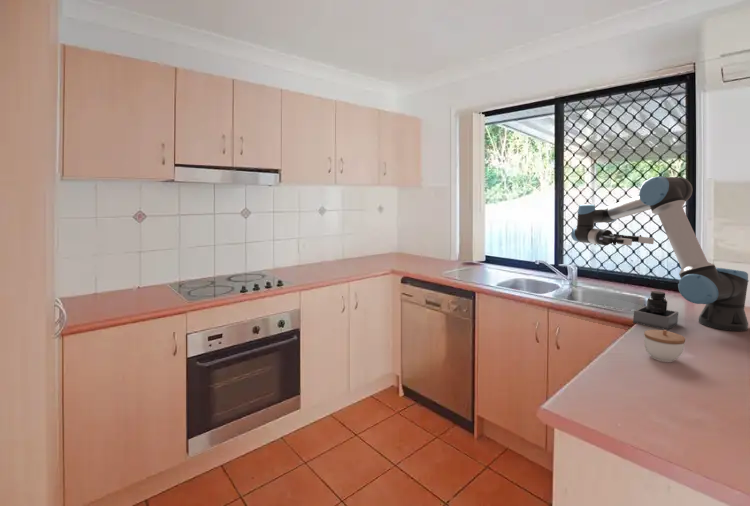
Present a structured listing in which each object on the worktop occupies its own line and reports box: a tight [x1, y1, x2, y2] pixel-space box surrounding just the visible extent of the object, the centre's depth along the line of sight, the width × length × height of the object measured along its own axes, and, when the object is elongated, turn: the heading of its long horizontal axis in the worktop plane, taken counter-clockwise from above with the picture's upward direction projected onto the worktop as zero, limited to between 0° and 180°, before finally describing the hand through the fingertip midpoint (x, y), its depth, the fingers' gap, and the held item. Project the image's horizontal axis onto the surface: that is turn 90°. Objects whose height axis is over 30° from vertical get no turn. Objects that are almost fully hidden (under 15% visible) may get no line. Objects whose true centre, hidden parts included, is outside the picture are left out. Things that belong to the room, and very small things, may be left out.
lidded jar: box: [643, 329, 686, 363], centre depth 130 cm, size 11×11×9 cm
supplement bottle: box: [646, 290, 668, 316], centre depth 165 cm, size 7×7×12 cm
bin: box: [632, 305, 679, 331], centre depth 166 cm, size 12×12×5 cm
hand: (642, 241), depth 179 cm, fingers open, 13 cm apart
